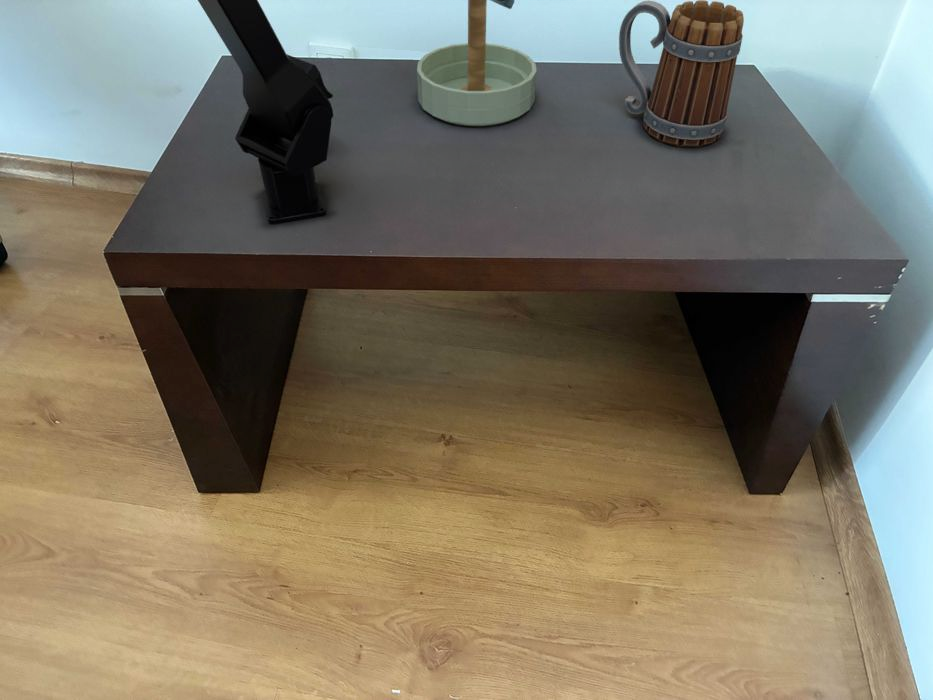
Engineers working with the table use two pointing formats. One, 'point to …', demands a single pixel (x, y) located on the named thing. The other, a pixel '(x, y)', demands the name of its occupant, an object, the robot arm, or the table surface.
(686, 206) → the table surface
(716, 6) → the mug
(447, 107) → the bowl
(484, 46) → the wooden pestle
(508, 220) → the table surface
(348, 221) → the table surface
